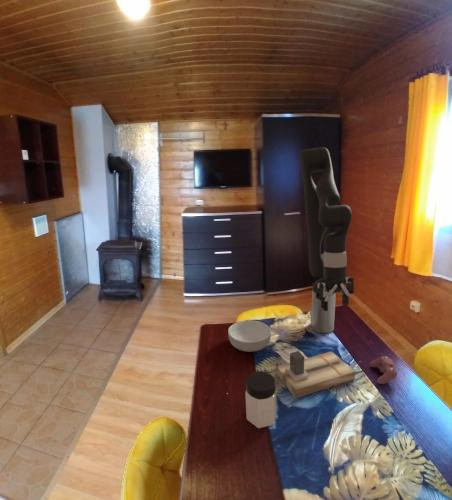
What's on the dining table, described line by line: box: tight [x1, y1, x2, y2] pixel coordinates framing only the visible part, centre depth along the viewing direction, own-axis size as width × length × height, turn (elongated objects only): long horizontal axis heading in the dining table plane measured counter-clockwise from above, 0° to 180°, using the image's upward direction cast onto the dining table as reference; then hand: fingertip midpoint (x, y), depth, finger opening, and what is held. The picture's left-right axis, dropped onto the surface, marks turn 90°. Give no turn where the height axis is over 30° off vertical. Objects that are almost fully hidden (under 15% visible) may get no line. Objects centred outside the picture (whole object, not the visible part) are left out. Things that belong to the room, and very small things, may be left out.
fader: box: [285, 350, 309, 381], centre depth 97 cm, size 6×5×7 cm
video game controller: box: [370, 355, 398, 385], centre depth 100 cm, size 10×5×7 cm, turn 169°
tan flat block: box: [276, 350, 356, 399], centre depth 101 cm, size 12×22×3 cm, turn 109°
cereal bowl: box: [227, 319, 272, 353], centre depth 119 cm, size 17×17×7 cm
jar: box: [245, 371, 277, 429], centre depth 85 cm, size 9×8×12 cm
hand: (335, 307), depth 107 cm, fingers open, 8 cm apart
